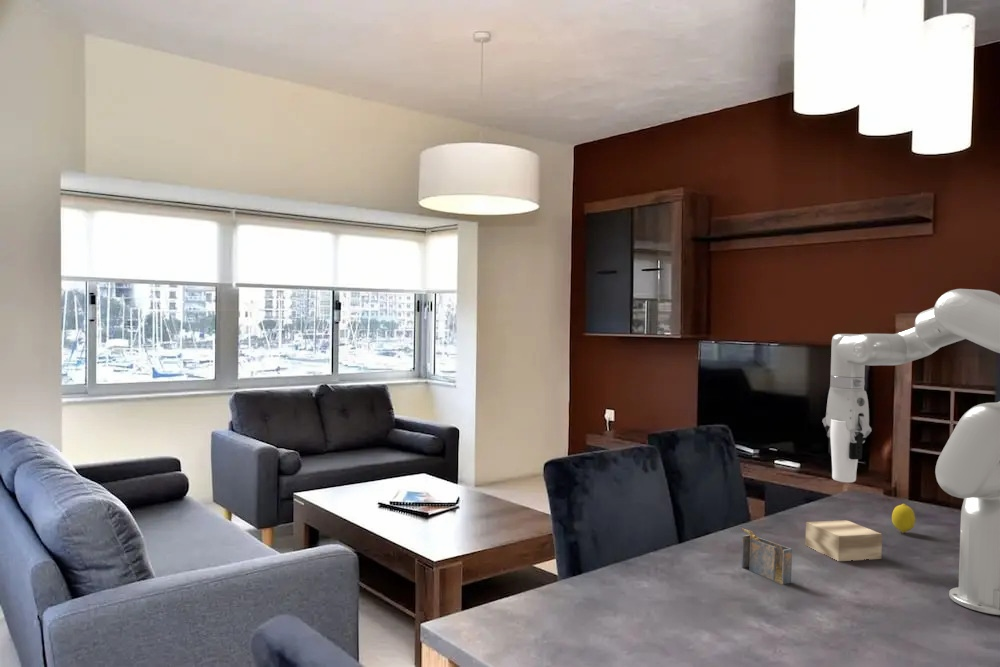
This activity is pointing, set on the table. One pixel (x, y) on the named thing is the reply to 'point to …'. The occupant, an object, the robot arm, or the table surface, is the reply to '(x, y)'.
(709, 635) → the table surface
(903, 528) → the lemon
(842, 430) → the drinking glass
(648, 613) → the table surface
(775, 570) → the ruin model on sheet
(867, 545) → the wooden block
